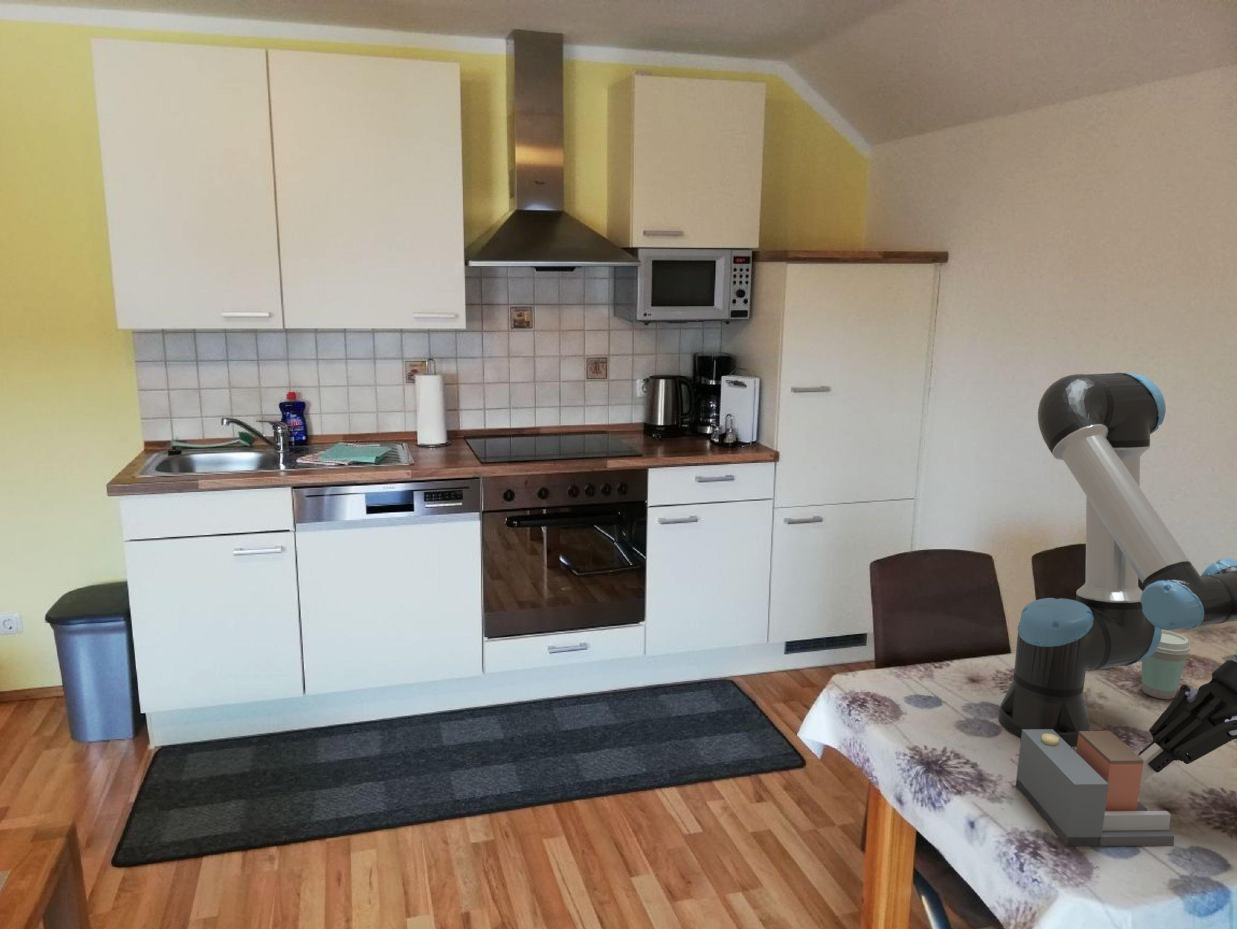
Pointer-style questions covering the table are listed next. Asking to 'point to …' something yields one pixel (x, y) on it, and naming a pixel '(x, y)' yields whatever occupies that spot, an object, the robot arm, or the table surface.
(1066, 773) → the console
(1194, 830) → the table surface
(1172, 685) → the coffee cup
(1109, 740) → the orange brown-topped block
